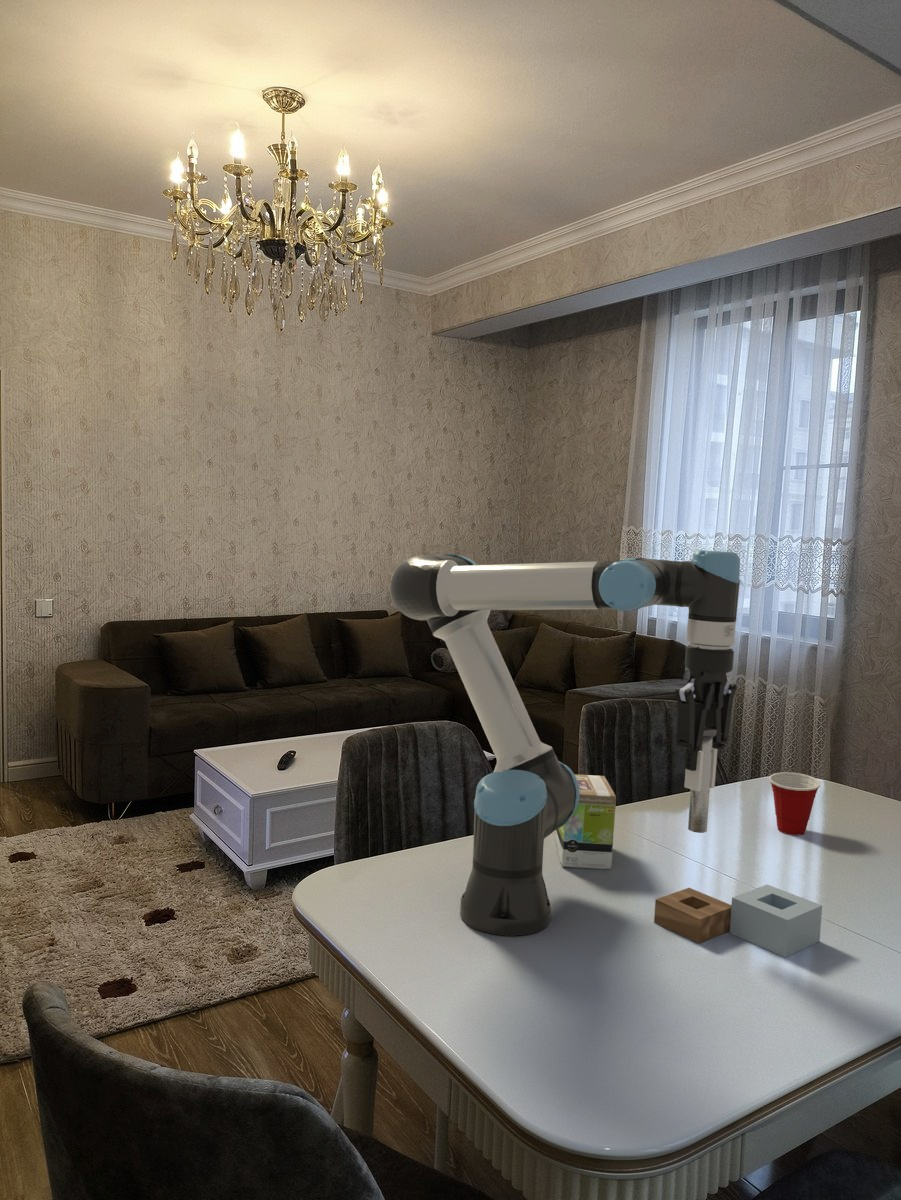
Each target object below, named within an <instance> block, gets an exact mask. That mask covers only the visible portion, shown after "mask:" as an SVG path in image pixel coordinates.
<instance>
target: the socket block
mask: <svg viewBox="0 0 901 1200" xmlns="http://www.w3.org/2000/svg"><path fill="white" fill-rule="evenodd" d="M731 905H732V906H731V921H730V931H729V934H730V935H733V936H735V937H738V938H740V939H743V940H744V941H747V942H749V943H752V944H753V945H756V946H758V947H760V948H762V949H765V950H767V951H770V952H772V953H774V954H776V955H777V956H778V955H779V956H780V957H783V958H787V957H790V956H792V955H794V954H796V953H798V952H800V951H802V950H804V949H806V948H808V947H810V946H813V945H815V944H817V943H819V942H820V940H821V928H822V915H823V913H822V912H823V905H822V904H819V903H817V902H814V901H811V900H809V899H806V898H804V897H801V896H798V895H795V894H794V893H791V892H788V891H785V890H782V889H780V888H777V887H775V886H772V885H770V884H765V885H762V886H759V887H756V888H754V889H750V890H749V891H745V892H743V893H740V894H738V895H735V896H732V897H731Z"/></svg>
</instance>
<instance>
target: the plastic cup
mask: <svg viewBox="0 0 901 1200" xmlns="http://www.w3.org/2000/svg"><path fill="white" fill-rule="evenodd" d="M768 780H769V782H770V784H771V788H772V792H773V803H774V804H773V805H774V811H775V812H774V813H775V817H776V826H777V830H778V831H779V832H781V833H782V834H786V835H792V836H803V835H805V834H806V831H807V829H808V828H807V827H808V823H809V821H810V817H811V814H812V808H813V805H814V801H815V798H816V796H817V795H816V794H817V792H818V789H819V788H820V787H821V784H822V781H820V780H819V779H818V778H816V777H813V776H811V775H807V774H804V773H799V772H783V771H782V772H776V773H772V774H771V775H769V776H768Z"/></svg>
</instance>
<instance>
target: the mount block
mask: <svg viewBox="0 0 901 1200" xmlns="http://www.w3.org/2000/svg"><path fill="white" fill-rule="evenodd" d="M731 906H732V904H730V903H727V902H725V901H722V900H720V899H718V898H715V897H713V896H710V895H707V894H706V893H704V892H702V891H701V892H700V891H699V890H696V889H694V888H691V887H687V888H683V889H680V890H678V891H676V892H673V893H669V894H666V895H664V896H661V897H658V898H655V901H654V917H653V923H654V924H657V925H659V926H661V927H663V928H665V929H667V930H669V931H672V932H674V933H676V934H677V935H680V936H682V937H684V938H686V939H689V940H691V941H693V942H695V943H697V944H701V943H703V942H705V941H709V940H711V939H714V938H715V937H718V936H720V935H723V934H725V933H727V932H730V921H731Z"/></svg>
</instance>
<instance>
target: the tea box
mask: <svg viewBox="0 0 901 1200" xmlns="http://www.w3.org/2000/svg"><path fill="white" fill-rule="evenodd" d="M574 775H575V777H576V779H577V781H578V784H579V790H580V797H579V803H578V806H577V808H576V810H575V812H574V813H573V815H572V816H571V817H570V819H569V820H568V821H567V822H566V823H565V824H564V825H563V826H562V827H560V828H557V829H556V830H555V831H554V842H555V846H556V850H557V853H558V856H559V857H558V858H559V860H560V864H561V867H564V868H565V867H566V868H576V869H577V868H578V869H580V868H581V869H595V870H597V869H598V870H610V869H611V868H612V863H613V862H612V861H613V846H614V834H615V832H614V831H615V819H616V818H615V817H616V804H617V796H616V794H615V791H614V790H613V788H612V786H611V784H610V783H609V781H608V780H607V778H606V776H605V775H592V774H590V775H589V774H575V773H574Z"/></svg>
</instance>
